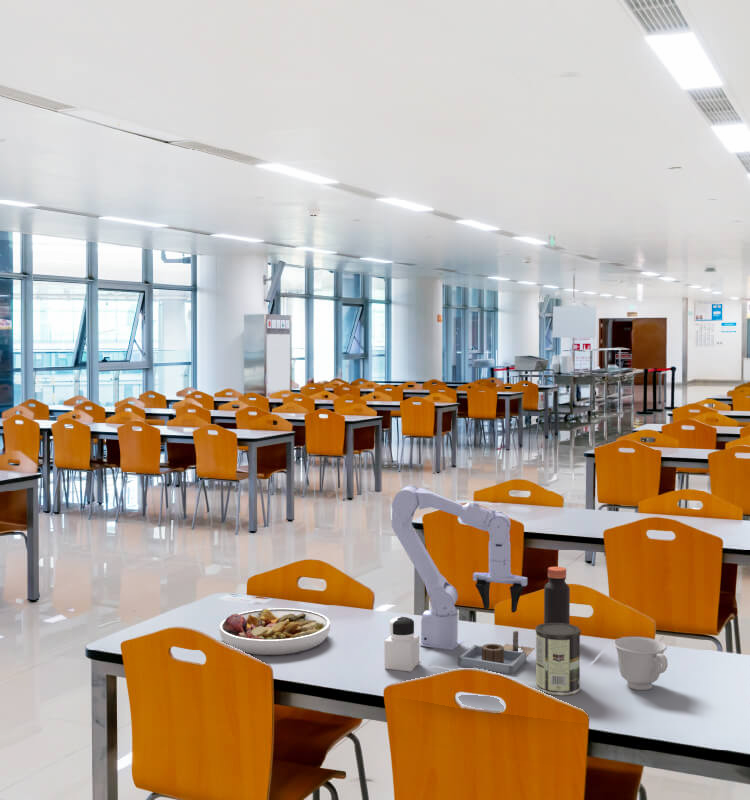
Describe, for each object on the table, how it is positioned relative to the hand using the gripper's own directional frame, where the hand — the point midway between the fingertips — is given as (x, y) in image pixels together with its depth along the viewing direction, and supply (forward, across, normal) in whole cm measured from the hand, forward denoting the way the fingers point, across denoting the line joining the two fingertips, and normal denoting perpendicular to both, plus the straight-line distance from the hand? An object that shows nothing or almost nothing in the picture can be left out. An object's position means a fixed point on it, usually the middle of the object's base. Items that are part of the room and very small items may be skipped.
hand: (500, 609), depth 242 cm
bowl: (+10, +58, +21) cm, 62 cm away
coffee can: (+11, -22, +21) cm, 32 cm away
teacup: (+11, -40, +12) cm, 43 cm away
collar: (+10, -2, +13) cm, 17 cm away
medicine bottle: (+10, +18, +24) cm, 32 cm away
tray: (+10, -2, +13) cm, 17 cm away
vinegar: (+11, -12, -13) cm, 20 cm away
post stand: (+10, -4, +1) cm, 11 cm away
